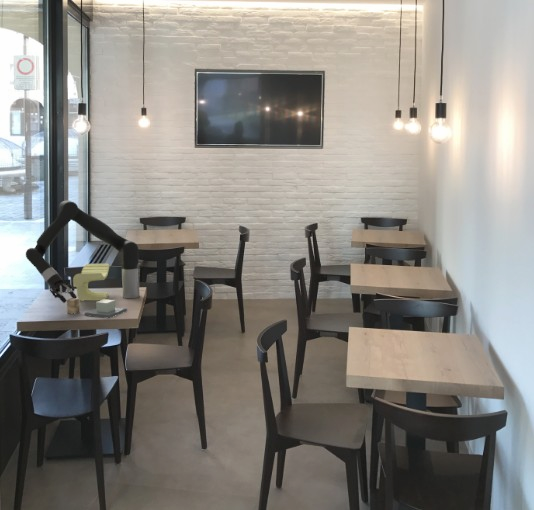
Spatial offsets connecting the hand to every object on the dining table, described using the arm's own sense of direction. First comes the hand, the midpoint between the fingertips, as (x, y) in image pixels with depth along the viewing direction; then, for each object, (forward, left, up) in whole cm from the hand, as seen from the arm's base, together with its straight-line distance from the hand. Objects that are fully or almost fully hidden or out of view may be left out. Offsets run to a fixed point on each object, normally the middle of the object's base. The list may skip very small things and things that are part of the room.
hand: (70, 300), depth 387 cm
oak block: (-1, +1, -7) cm, 7 cm away
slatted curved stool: (-16, -30, -7) cm, 35 cm away
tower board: (-17, +9, -7) cm, 21 cm away
